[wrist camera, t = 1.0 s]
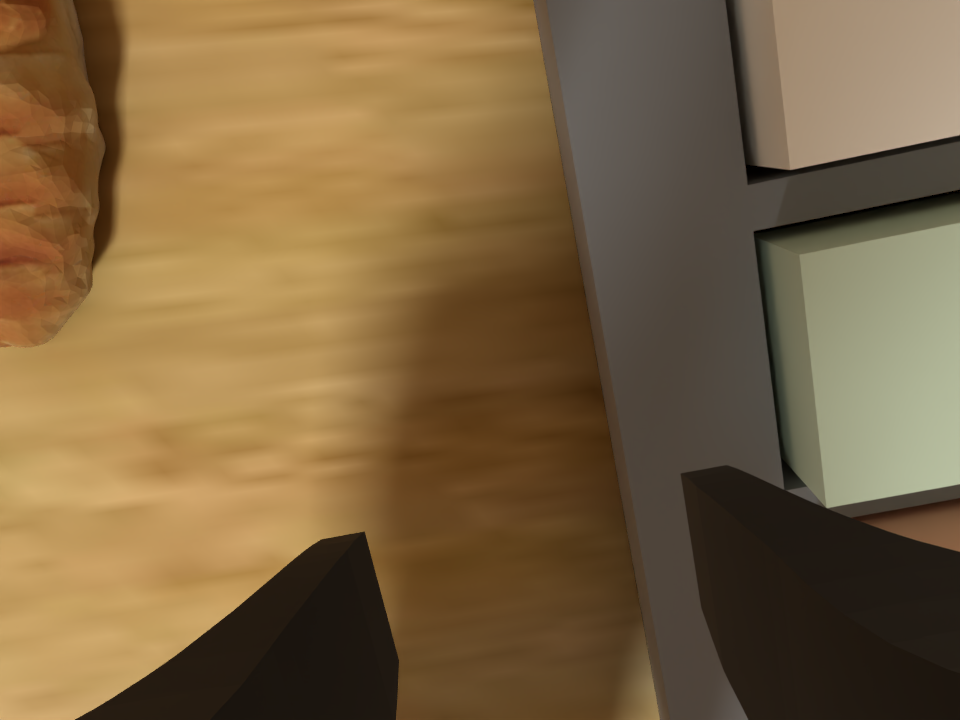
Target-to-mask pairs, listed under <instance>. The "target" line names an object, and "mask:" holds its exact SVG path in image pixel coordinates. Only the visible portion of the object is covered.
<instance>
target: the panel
mask: <svg viewBox="0 0 960 720" xmlns="http://www.w3.org/2000/svg"><path fill="white" fill-rule="evenodd" d="M533 1H534V6H535V12H536V18H537V23H538V29H539V35H540V40H541V46H542V52H543V57H544V63H545V69H546V74H547V80H548V86H549V91H550V97H551V103H552V108H553V114H554V120H555V125H556V131H557V137H558V142H559V148H560V154H561V159H562V165H563V171H564V176H565V182H566V188H567V193H568V199H569V205H570V210H571V216H572V222H573V227H574V233H575V239H576V244H577V250H578V256H579V261H580V267H581V273H582V278H583V284H584V290H585V295H586V301H587V307H588V312H589V318H590V324H591V330H592V335H593V341H594V347H595V352H596V358H597V364H598V369H599V375H600V381H601V386H602V392H603V398H604V403H605V409H606V415H607V420H608V426H609V432H610V437H611V443H612V449H613V454H614V460H615V466H616V471H617V477H618V483H619V488H620V494H621V500H622V505H623V511H624V517H625V522H626V528H627V534H628V539H629V545H630V551H631V556H632V562H633V568H634V573H635V579H636V585H637V590H638V596H639V602H640V607H641V613H642V619H643V624H644V630H645V636H646V641H647V647H648V653H649V658H650V664H651V670H652V675H653V681H654V687H655V692H656V698H657V704H658V709H659V715H660V720H748V718H747V716H746V714H745V712H744V710H743V708H742V706H741V704H740V702H739V700H738V698H737V696H736V694H735V693H734V691H733V689H732V687H731V685H730V683H729V681H728V679H727V677H726V675H725V673H724V670H723V668H722V665H721V662H720V659H719V657H718V654H717V651H716V648H715V646H714V643H713V640H712V637H711V634H710V631H709V629H708V626H707V623H706V620H705V617H704V614H703V611H702V609H701V603H700V596H699V590H698V583H697V577H696V570H695V564H694V558H693V551H692V545H691V538H690V532H689V525H688V519H687V512H686V506H685V500H684V493H683V487H682V480H681V474H680V473H685V472H691V471H696V470H702V469H707V468H713V467H718V466H723V465H728V466H731V467H734V468H737V469H739V470H742V471H744V472H746V473H749V474H751V475H753V476H755V477H758V478H760V479H762V480H764V481H766V482H768V483H771V484H773V485H775V486H777V487H779V488H781V489H784V490H786V491H788V492H790V493H792V494H795V495H797V496H799V497H801V498H804V499H806V500H808V501H811V502H813V503H815V504H818V505H820V506H822V507H825V506H824V505H823V504H822V502H821V501H820V500H819V499H818V498H817V497H816V496H815V495H814V493H813V492H812V491H811V490H810V489H809V488H808V487H807V486H806V484H805V483H804V482H803V481H802V480H801V479H800V478H799V477H798V476H797V474H796V473H795V472H794V471H793V470H792V469H791V468H790V467H789V465H788V464H787V463H786V462H785V461H784V460H783V459H782V458H781V457H780V448H779V440H778V432H777V424H776V415H775V407H774V399H773V391H772V382H771V374H770V366H769V357H768V349H767V341H766V333H765V324H764V316H763V308H762V300H761V291H760V283H759V275H758V266H757V258H756V250H755V242H754V233H753V231H757V230H762V229H767V228H772V227H777V226H782V225H787V224H792V223H796V222H801V221H806V220H811V219H816V218H821V217H826V216H831V215H836V214H841V213H846V212H851V211H856V210H861V209H866V208H871V207H876V206H881V205H886V204H891V203H896V202H900V201H905V200H910V199H915V198H920V197H925V196H930V195H935V194H940V193H945V192H950V191H955V190H960V135H958V136H953V137H948V138H943V139H938V140H934V141H929V142H924V143H919V144H914V145H909V146H905V147H900V148H895V149H890V150H885V151H880V152H875V153H871V154H866V155H861V156H856V157H851V158H846V159H841V160H837V161H832V162H827V163H822V164H817V165H812V166H808V167H803V168H798V169H793V170H786V169H778V168H770V167H762V166H760V167H755V168H750V169H746V167H745V159H744V151H743V142H742V134H741V126H740V118H739V109H738V101H737V93H736V84H735V76H734V68H733V60H732V51H731V43H730V35H729V27H728V18H727V10H726V2H725V0H533ZM958 498H960V484H958V485H953V486H947V487H942V488H936V489H930V490H925V491H919V492H914V493H908V494H903V495H897V496H891V497H886V498H880V499H875V500H869V501H864V502H858V503H852V504H847V505H841V506H836V507H830V508H827V509H830V510H832V511H835V512H837V513H840V514H842V515H845V516H847V517H850V518H851V517H857V516H863V515H868V514H874V513H879V512H885V511H891V510H896V509H902V508H907V507H913V506H919V505H924V504H930V503H935V502H941V501H947V500H952V499H958ZM825 508H826V507H825Z"/></svg>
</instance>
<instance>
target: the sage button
mask: <svg viewBox="0 0 960 720" xmlns="http://www.w3.org/2000/svg"><path fill="white" fill-rule="evenodd" d="M754 242H755V250H756V258H757V266H758V275H759V283H760V291H761V300H762V308H763V316H764V324H765V333H766V341H767V349H768V357H769V366H770V374H771V382H772V391H773V399H774V407H775V415H776V424H777V432H778V440H779V448H780V457H781V458H782V459H783V460H784V461H785V462H786V463H787V464H788V465H789V467H790V468H791V469H792V470H793V471H794V472H795V473H796V474H797V476H798V477H799V478H800V479H801V480H802V481H803V482H804V483H805V484H806V486H807V487H808V488H809V489H810V490H811V491H812V492H813V493H814V495H815V496H816V497H817V498H818V499H819V500H820V501H821V502H822V504H823V505H824V506H825V507H826V508H830V507H836V506H841V505H847V504H852V503H858V502H864V501H869V500H875V499H880V498H886V497H891V496H897V495H903V494H908V493H914V492H919V491H925V490H930V489H936V488H942V487H947V486H953V485H958V484H960V192H958V193H954V194H949V195H944V196H939V197H934V198H929V199H924V200H919V201H914V202H909V203H904V204H899V205H894V206H889V207H884V208H879V209H874V210H869V211H864V212H859V213H854V214H849V215H844V216H840V217H835V218H830V219H825V220H820V221H815V222H810V223H805V224H800V225H795V226H790V227H785V228H780V229H775V230H770V231H765V232H760V233H755V234H754Z"/></svg>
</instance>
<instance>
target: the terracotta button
mask: <svg viewBox="0 0 960 720" xmlns="http://www.w3.org/2000/svg"><path fill="white" fill-rule="evenodd" d="M851 518H852V519H855V520H858V521H861V522H864V523H866V524H869V525H872V526H875V527H878V528H880V529H883V530H886V531H889V532H892V533H895V534H898V535H901V536H904V537H908V538H911V539H914V540H917V541H921V542H925V543H929V544H932V545H936V546H940V547H944V548H947V549H951V550H955V551H959V552H960V498H958V499H952V500H947V501H941V502H935V503H930V504H924V505H919V506H913V507H907V508H902V509H896V510H891V511H885V512H879V513H874V514H868V515H863V516H857V517H851Z"/></svg>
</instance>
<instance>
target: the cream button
mask: <svg viewBox="0 0 960 720" xmlns="http://www.w3.org/2000/svg"><path fill="white" fill-rule="evenodd" d="M725 2H726V10H727V18H728V27H729V35H730V43H731V51H732V60H733V68H734V76H735V84H736V93H737V101H738V109H739V118H740V126H741V134H742V142H743V151H744V159H745V164H747V165H755V166H762V167H770V168H778V169H786V170H793V169H798V168H803V167H808V166H812V165H817V164H822V163H827V162H832V161H837V160H841V159H846V158H851V157H856V156H861V155H866V154H871V153H875V152H880V151H885V150H890V149H895V148H900V147H905V146H909V145H914V144H919V143H924V142H929V141H934V140H938V139H943V138H948V137H953V136H958V135H960V0H725Z"/></svg>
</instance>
